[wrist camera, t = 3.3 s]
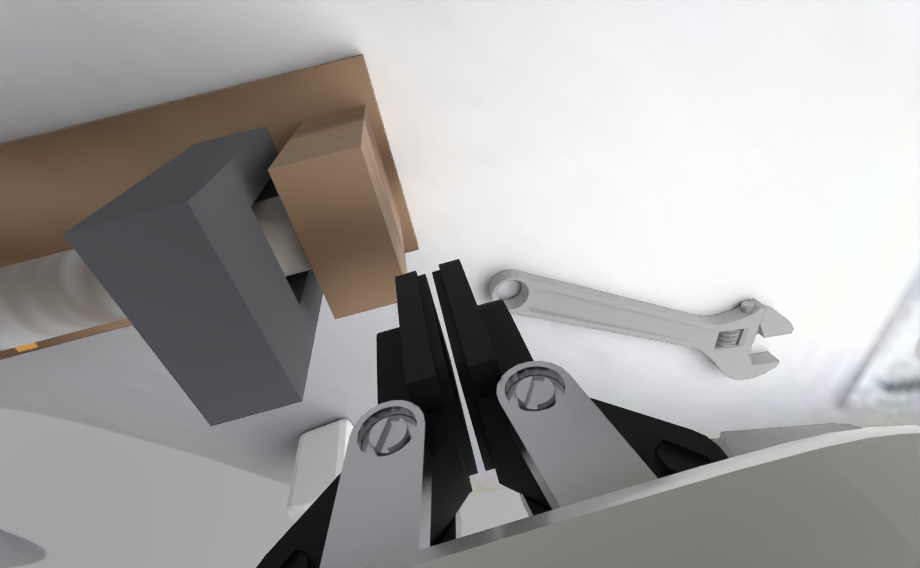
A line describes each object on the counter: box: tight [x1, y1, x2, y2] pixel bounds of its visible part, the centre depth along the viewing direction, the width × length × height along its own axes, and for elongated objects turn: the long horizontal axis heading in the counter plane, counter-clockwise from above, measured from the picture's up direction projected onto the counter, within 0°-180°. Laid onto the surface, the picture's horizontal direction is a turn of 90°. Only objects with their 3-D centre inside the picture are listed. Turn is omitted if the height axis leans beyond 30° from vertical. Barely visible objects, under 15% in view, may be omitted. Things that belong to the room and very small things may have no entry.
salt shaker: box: [287, 419, 353, 524], centre depth 29 cm, size 4×4×10 cm
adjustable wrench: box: [489, 270, 794, 380], centre depth 31 cm, size 25×6×2 cm, turn 66°
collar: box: [63, 126, 323, 426], centre depth 16 cm, size 7×3×9 cm, turn 12°
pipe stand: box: [0, 54, 419, 360], centre depth 19 cm, size 10×32×9 cm, turn 102°
